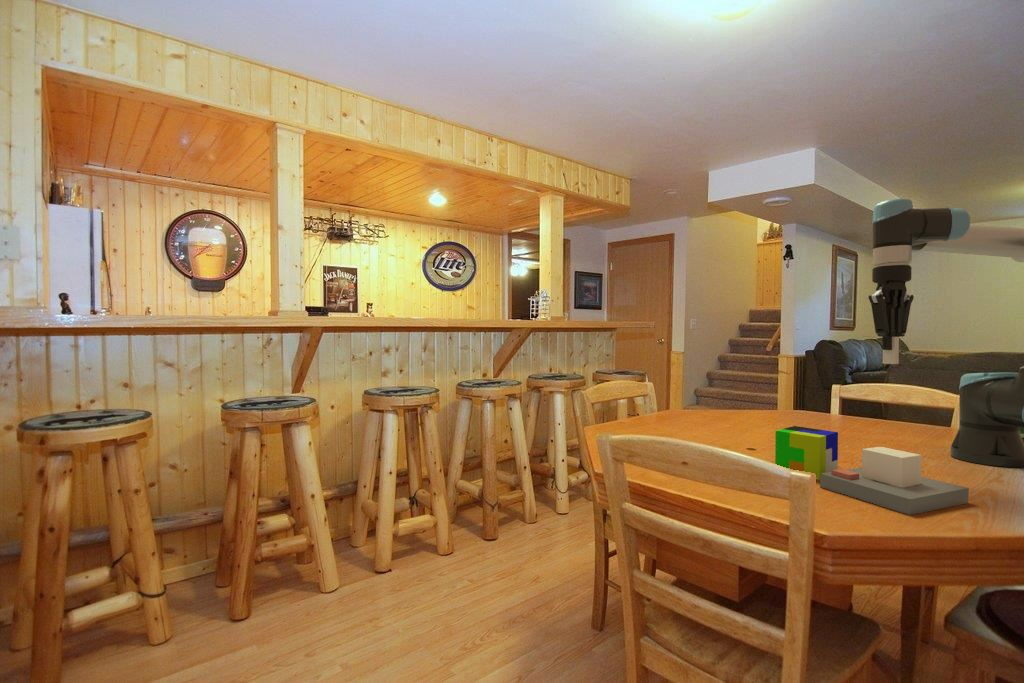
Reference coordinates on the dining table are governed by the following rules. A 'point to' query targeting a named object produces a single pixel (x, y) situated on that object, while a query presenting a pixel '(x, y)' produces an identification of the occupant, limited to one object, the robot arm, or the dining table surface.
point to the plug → (891, 466)
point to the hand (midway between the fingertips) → (890, 363)
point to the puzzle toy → (807, 449)
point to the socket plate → (895, 492)
